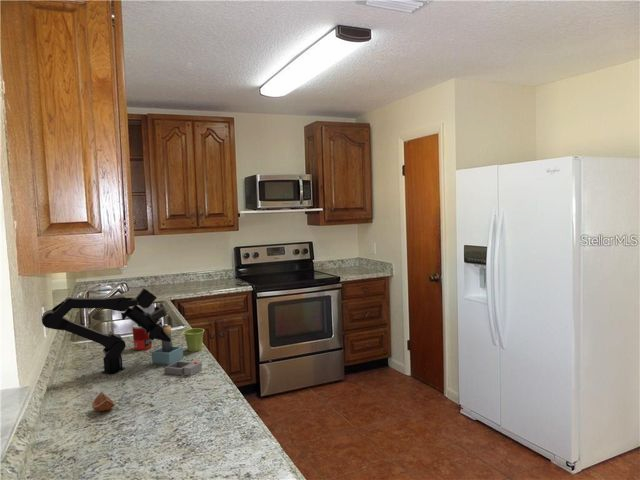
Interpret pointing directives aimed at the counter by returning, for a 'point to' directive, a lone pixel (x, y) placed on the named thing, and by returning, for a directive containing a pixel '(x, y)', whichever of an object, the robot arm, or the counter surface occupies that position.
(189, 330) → the plant pot
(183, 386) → the counter surface
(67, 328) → the robot arm
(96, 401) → the brown lump
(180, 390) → the counter surface
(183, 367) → the tester
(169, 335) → the battery cell
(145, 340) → the canned food
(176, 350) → the bin
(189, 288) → the counter surface
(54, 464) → the counter surface
